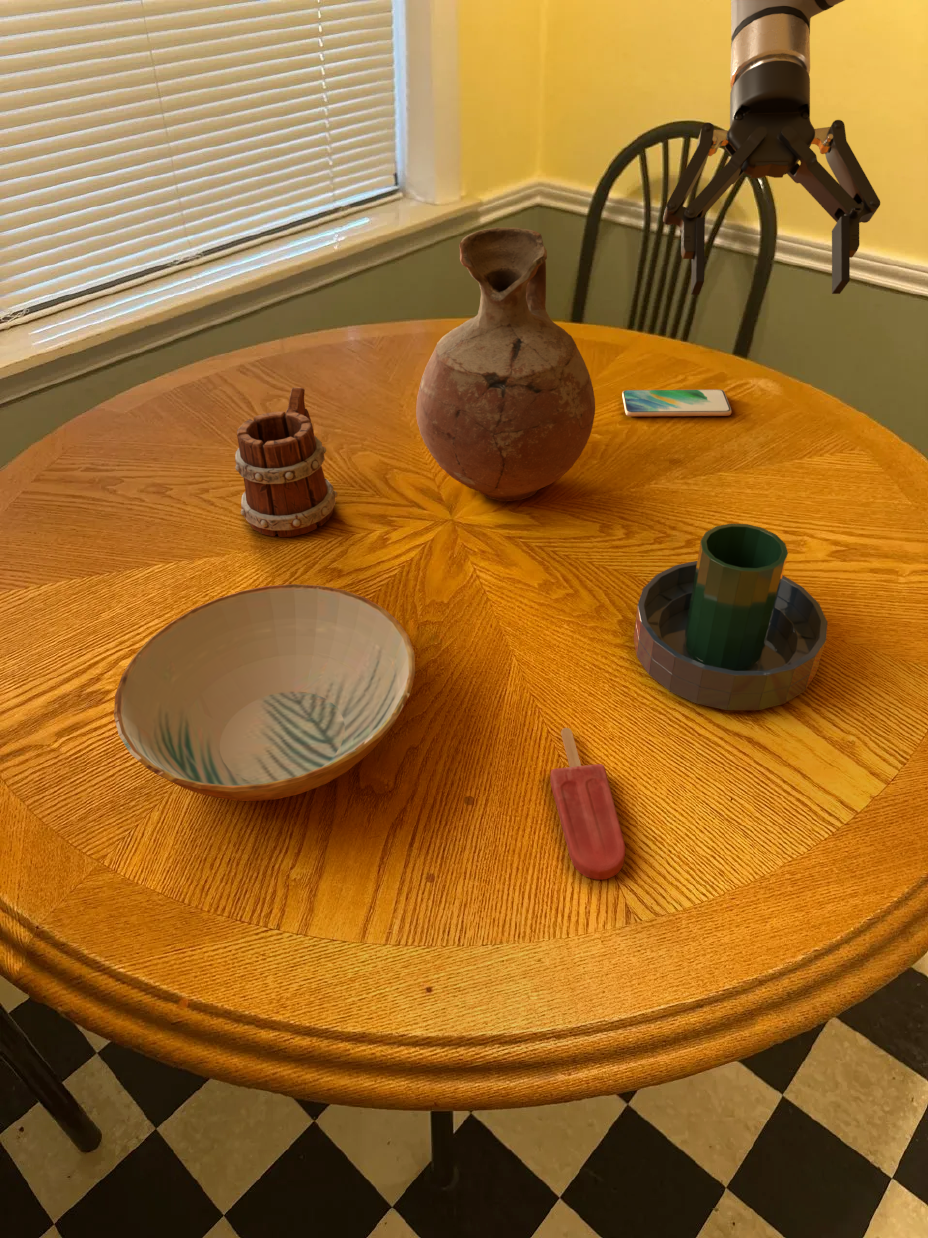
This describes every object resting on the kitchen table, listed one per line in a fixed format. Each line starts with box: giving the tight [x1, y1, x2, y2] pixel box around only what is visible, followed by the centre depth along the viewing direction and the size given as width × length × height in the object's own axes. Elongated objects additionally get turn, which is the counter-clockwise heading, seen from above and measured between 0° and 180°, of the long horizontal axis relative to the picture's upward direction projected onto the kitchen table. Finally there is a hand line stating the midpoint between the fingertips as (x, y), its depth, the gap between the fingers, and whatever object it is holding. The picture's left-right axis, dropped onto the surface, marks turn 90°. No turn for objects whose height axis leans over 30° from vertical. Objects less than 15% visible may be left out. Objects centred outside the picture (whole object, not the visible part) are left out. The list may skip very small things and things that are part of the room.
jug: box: [415, 226, 596, 502], centre depth 102 cm, size 22×22×30 cm
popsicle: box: [549, 727, 626, 881], centre depth 71 cm, size 4×2×15 cm
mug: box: [234, 387, 338, 538], centre depth 104 cm, size 12×14×15 cm
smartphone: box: [621, 388, 732, 417], centre depth 125 cm, size 7×1×15 cm
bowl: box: [113, 583, 416, 802], centre depth 75 cm, size 25×25×8 cm
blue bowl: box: [633, 560, 828, 711], centre depth 83 cm, size 17×17×5 cm
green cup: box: [684, 523, 789, 671], centre depth 80 cm, size 7×7×12 cm
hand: (768, 288), depth 84 cm, fingers open, 13 cm apart
